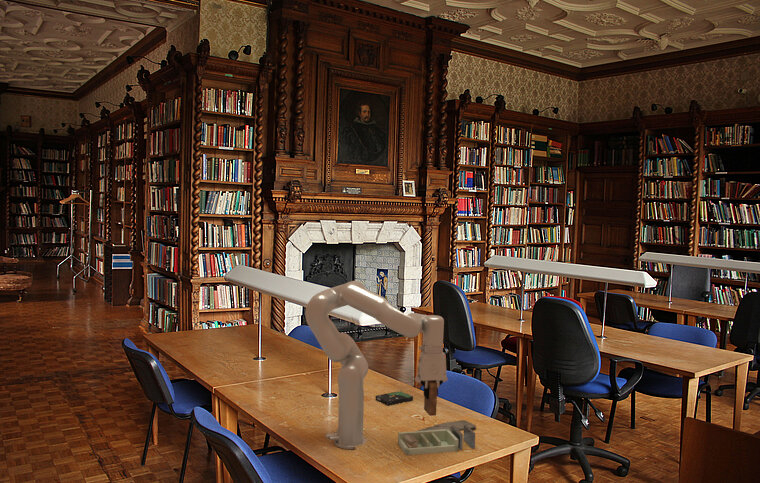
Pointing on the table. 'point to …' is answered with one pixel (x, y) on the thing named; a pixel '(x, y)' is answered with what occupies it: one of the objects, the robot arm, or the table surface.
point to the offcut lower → (409, 445)
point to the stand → (468, 436)
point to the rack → (429, 442)
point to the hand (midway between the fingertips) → (430, 397)
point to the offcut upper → (410, 440)
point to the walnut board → (431, 399)
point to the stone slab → (448, 425)
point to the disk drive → (394, 398)
